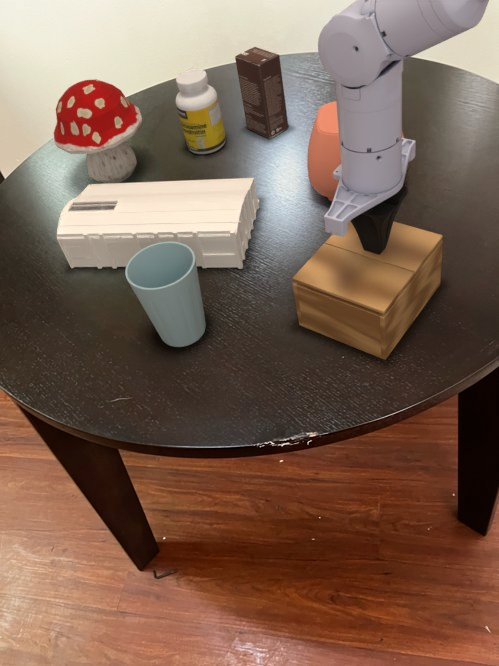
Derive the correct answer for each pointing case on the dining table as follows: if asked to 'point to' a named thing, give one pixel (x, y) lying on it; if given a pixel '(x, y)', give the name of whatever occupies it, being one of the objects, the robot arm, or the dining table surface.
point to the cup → (169, 291)
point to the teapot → (325, 151)
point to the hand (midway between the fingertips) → (374, 248)
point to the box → (262, 91)
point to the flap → (393, 246)
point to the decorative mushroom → (98, 129)
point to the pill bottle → (199, 112)
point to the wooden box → (363, 297)
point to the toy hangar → (159, 221)
